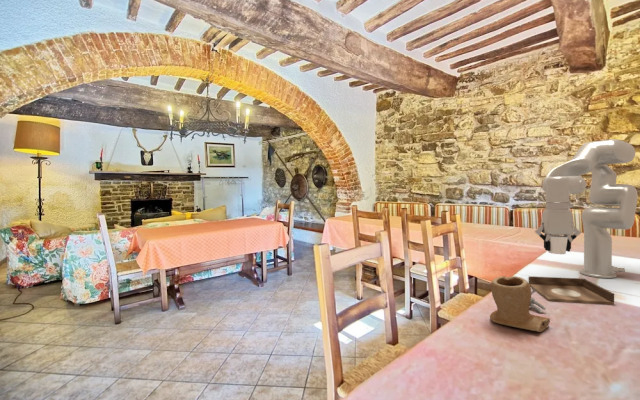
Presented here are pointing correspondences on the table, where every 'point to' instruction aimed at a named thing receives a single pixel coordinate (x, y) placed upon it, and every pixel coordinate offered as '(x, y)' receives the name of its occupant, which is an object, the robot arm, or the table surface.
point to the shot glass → (558, 244)
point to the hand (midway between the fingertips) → (557, 250)
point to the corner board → (571, 290)
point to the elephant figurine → (536, 303)
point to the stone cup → (515, 304)
